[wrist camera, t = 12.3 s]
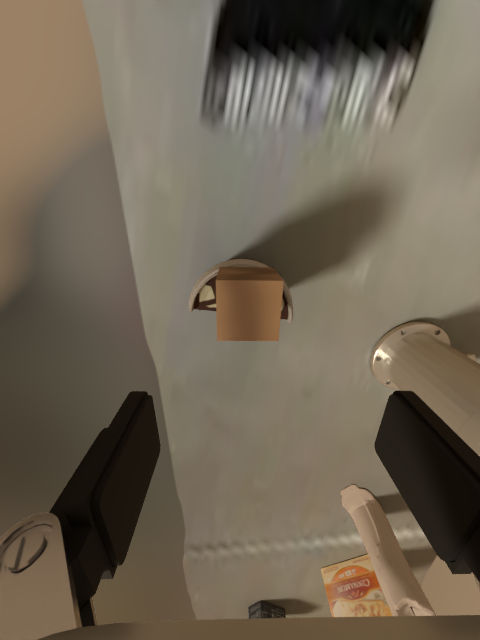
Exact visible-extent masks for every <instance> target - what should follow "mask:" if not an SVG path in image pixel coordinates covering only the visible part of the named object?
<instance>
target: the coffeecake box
mask: <svg viewBox="0 0 480 640" xmlns="http://www.w3.org/2000/svg"><path fill="white" fill-rule="evenodd" d="M321 572H322V576H323V580H324V584H325V588H326V593H327V597H328V601H329V605H330V609H331V613H332V617H375V616H392V613H391V610H390V608H389V605H388V603H387V600H386V598H385V596H384V594H383V591H382V589H381V587H380V584H379V582H378V579H377V577H376V574H375V571H374V568H373V566H372V563H371V560H370V557H369V555H368V554H366V555H363V556H360V557H357V558H353V559H350V560H347V561H344V562H340V563H337V564H334V565H330V566H327V567H324V568H321Z"/></svg>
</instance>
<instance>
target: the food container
mask: <svg viewBox="0 0 480 640" xmlns="http://www.w3.org/2000/svg"><path fill="white" fill-rule="evenodd" d="M219 267H269V266H267V265H265V264H263V263H260V262H258V261H253V260H249V259H241V258H238V259H232V260H229V261H225V262H222V263H220V264H217V265H215V266H213V267H212V268H210V269H209V270H208V271H206V272H205V273H204V274H203V275H202V276H201V277H200V278H199V280H198V281H197V282H196V284H195V286H194V288H193V290H192V292H191V295H190V299H189V310H191V311H190V313H191V312H192V311H193V309H198V310H210V311H216V277H217V274H218V270H219ZM280 277H281V276H280ZM283 281H284V280H283ZM292 318H293V304H292V298H291V294H290V291H289V288H288V286H287V285H286V283H285V281H284V283H283V294H282V306H281V317H280V319H286V320H287V321H288V322H289V323H290V324H291V322H292Z"/></svg>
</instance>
